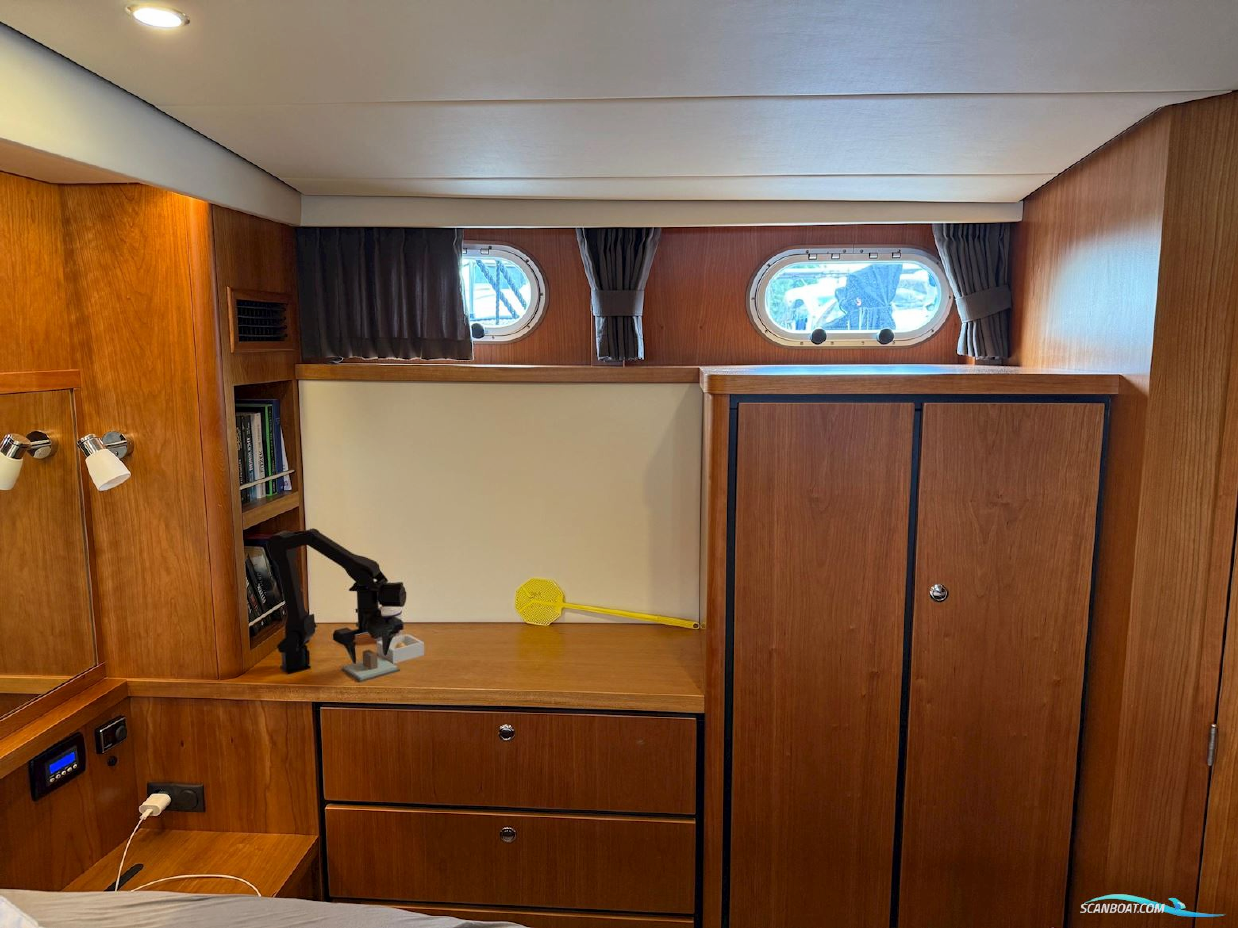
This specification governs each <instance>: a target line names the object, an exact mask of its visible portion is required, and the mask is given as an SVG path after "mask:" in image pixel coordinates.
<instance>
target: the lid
mask: <svg viewBox="0 0 1238 928" xmlns="http://www.w3.org/2000/svg"><path fill="white" fill-rule="evenodd" d="M361 653H362V660H361V661H356V664H354V663H353V662H352V663H350V664H346V665H343V666H342V668H343V669H345V670H346V671H348V672H349V673H351V674H352V675H354V676H355V677H357V678H359V679H360V680H362V679H366V678H369V677H373V676H376V675H380V674H383V673H387V672H390V671H394V670H397V669H398V666H397V665H396V664H393V663H391V662H389V661H387V660H386V659H384V658H382V657H380V656H379V655H377V653H376V652H374V651H372V650H371V649H366V650H362V652H361Z"/></svg>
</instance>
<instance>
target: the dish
mask: <svg viewBox="0 0 1238 928" xmlns="http://www.w3.org/2000/svg"><path fill="white" fill-rule="evenodd" d="M376 652H377V653H376V654H377V656H380V657H382V658H383V659H385V660H387V661H389V662H390V663H392V664H394V665H396V664H399V663H402V662H405V661H408V660H412V659H417V658H420V657H423V656H425V643H424V641H422V640H420V639H419V638H416V637H414V636H412V635H410V634H409V633H406V634H402V635H401V636H397V637H394V638H393V639H392V641H391V643H390V646H389V649H388V652H387V655H384V654H383V647H382V641H378V642H377V641H376Z"/></svg>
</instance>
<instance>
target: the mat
mask: <svg viewBox="0 0 1238 928" xmlns="http://www.w3.org/2000/svg"><path fill="white" fill-rule="evenodd" d="M340 671H342V672H344V673H345V674H346V675H348V676H349V677H351V678H353V679H354V680H356V681H358V682H359V683H363V682H365V681H369V680H373V679H376V678H379V677H383V676H386V675H390V674H393V673H396V672H401V669H400V668H398V669H397V670H394V671H390V672H387V673H383V674H380V675H376V676H373V677H369V678H366V679H362V680H360V679H359V678H357V677H355V676H354V675H352V674H351V673H349V672H348V671H346V670H345V669H343V667H342V668H340Z"/></svg>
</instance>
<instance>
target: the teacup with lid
mask: <svg viewBox="0 0 1238 928" xmlns="http://www.w3.org/2000/svg"><path fill="white" fill-rule="evenodd" d="M379 609H380V610H381V614H382V617H383V618H385V617H386V618H387V617H391V616H394V617H396V618H398V619H400V620H402V612H403V610H402V607H383V606H382V605H381V606H379ZM402 621H403V620H402ZM401 635H403V630H400V632H399V633H398V634H396V635H395V636H394V637H397V636H401ZM394 637H393V638H394ZM373 640H374V641H375V642H376V643H377V642H378V641H382V637H380V638H378V639H373Z"/></svg>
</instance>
